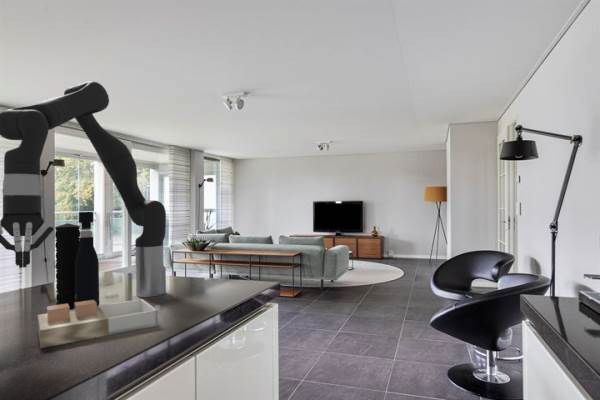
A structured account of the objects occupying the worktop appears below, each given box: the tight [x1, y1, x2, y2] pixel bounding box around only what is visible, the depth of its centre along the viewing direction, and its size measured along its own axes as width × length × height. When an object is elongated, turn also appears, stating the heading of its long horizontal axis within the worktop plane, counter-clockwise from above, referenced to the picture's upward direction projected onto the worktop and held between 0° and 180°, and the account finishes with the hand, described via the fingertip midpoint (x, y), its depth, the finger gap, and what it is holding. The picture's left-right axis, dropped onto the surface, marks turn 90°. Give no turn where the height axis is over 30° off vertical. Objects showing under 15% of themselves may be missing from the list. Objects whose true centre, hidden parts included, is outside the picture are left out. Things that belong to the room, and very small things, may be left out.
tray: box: [99, 298, 159, 336], centre depth 107 cm, size 12×16×4 cm
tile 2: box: [74, 300, 97, 318], centre depth 102 cm, size 4×4×3 cm
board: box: [37, 306, 110, 349], centre depth 100 cm, size 14×16×4 cm
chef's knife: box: [153, 304, 162, 315], centre depth 118 cm, size 19×1×3 cm
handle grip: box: [54, 222, 81, 310], centre depth 126 cm, size 10×26×10 cm
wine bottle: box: [75, 211, 100, 306], centre depth 121 cm, size 6×6×30 cm
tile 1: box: [46, 303, 70, 323], centre depth 98 cm, size 4×4×3 cm
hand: (22, 267), depth 94 cm, fingers closed
